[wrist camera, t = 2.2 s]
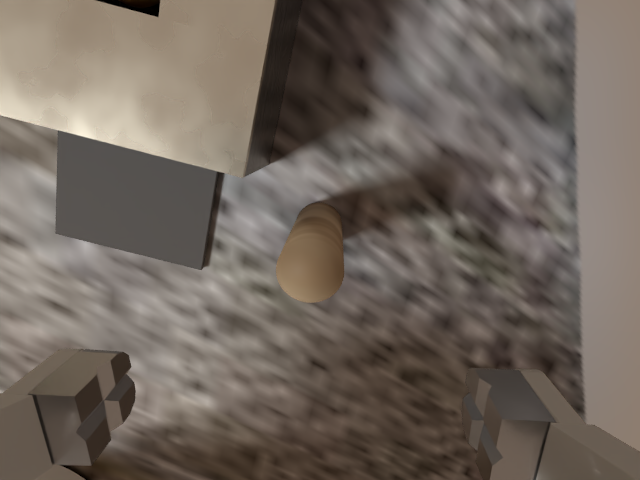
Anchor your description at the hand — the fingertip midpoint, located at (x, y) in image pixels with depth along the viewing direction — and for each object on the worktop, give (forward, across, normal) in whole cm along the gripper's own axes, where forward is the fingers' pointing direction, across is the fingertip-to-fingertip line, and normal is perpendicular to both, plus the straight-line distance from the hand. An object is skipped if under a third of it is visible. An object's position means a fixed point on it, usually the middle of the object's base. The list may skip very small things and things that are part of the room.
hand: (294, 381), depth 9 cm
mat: (+15, +12, -2) cm, 20 cm away
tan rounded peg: (+15, 0, 0) cm, 15 cm away
